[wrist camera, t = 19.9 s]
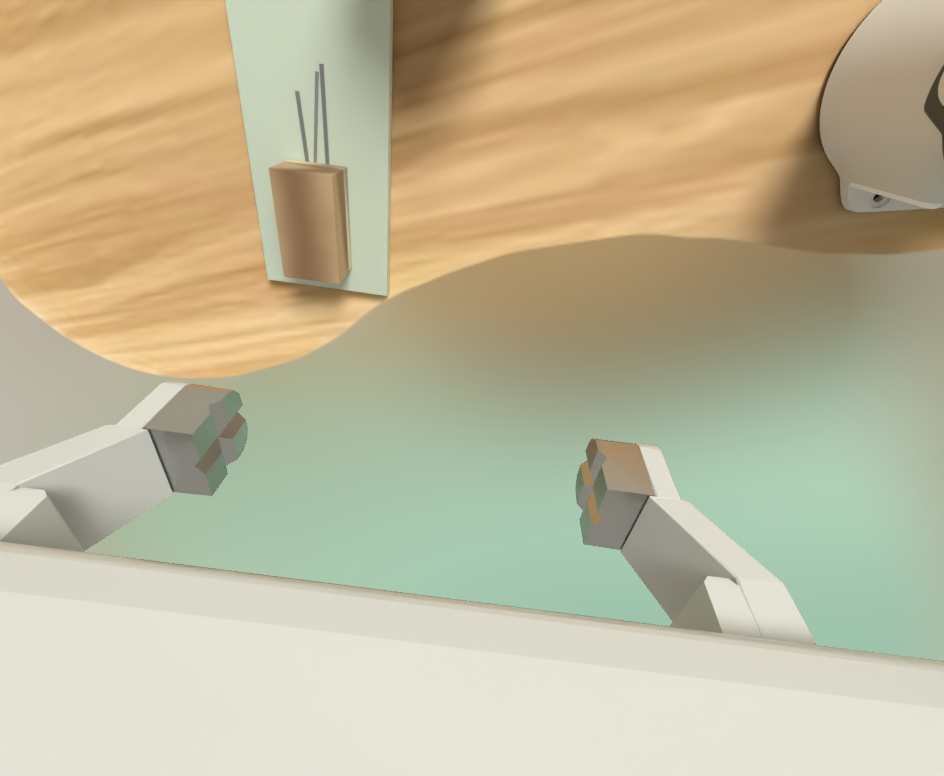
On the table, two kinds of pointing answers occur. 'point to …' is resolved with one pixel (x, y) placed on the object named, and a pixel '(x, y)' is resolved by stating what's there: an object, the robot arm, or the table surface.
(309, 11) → the board
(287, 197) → the block
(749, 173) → the table surface
